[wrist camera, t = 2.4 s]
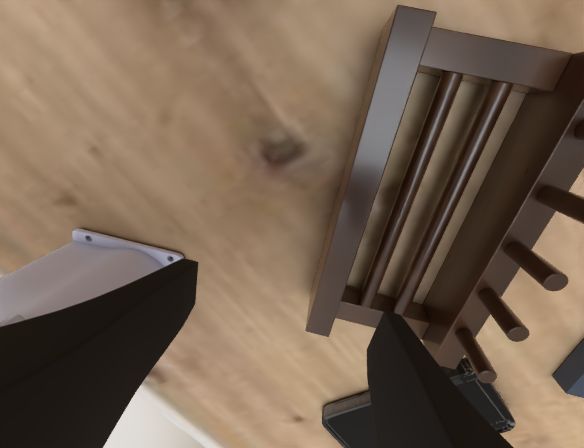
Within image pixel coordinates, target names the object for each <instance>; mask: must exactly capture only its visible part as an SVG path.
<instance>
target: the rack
mask: <svg viewBox="0 0 584 448" xmlns="http://www.w3.org/2000/svg"><path fill="white" fill-rule="evenodd" d="M436 14H437V12H434V11H429V10H424V9H418V8H413V7H408V6H402V5H398V6H397V7H396V9H395V11H394V12H393V14H392V15H391V17H390V19H389V20H388V22H387V23H386V25H385V27H384V28H383V30H382V33H381V37H380V41H379V44H378V48H377V52H376V55H375V59H374V63H373V66H372V70H371V74H370V77H369V81H368V85H367V88H366V92H365V96H364V99H363V103H362V107H361V110H360V114H359V118H358V121H357V125H356V129H355V132H354V136H353V140H352V144H351V147H350V151H349V155H348V158H347V162H346V166H345V169H344V173H343V177H342V180H341V184H340V188H339V191H338V195H337V199H336V202H335V206H334V210H333V213H332V217H331V221H330V224H329V228H328V232H327V235H326V239H325V243H324V246H323V250H322V254H321V257H320V261H319V265H318V268H317V272H316V276H315V279H314V283H313V287H312V290H311V294H310V301H309V309H308V316H307V324H306V331H307V332H311V333H315V334H319V335H323V336H327V337H329V335H330V332H331V329H332V326H333V323H334V320H335V318H338V319H342V320H346V321H350V322H354V323H358V324H362V325H366V326H370V327H374V328H377V326H378V324H379V321H380V319H381V317H382V315H383V312H384V310H385V311H388V312H392V313H396V314H400V315H401V316H402V317H403V318H404V319H405V321H406V322H407V323H408V325H409V326H410V327H411V329H412V330H413V331H414V333H415V334H416V335H417V337H418V338H419V339H422V340H423V343H424V346H425V347H426V349H427V350H428V351H429V353H430V354H431V355H432V357H433V358H434V359H435V361H436V362H437V363H438V364H439V366H443V367H447V368H451V369H456V367H457V365H458V364H459V362H460V361H461V359H462V358H463V356H464V354H465V355H466V357H467V359H468V361H469V363H470V364H471V366H472V368H473V370H474V372H475V374H476V376H477V378H478V379H479V380H480V381H481V382H484V383H491V382H493V381H495V380H496V378H497V374H496V372H495V370H494V369H493V367H492V365H491V364H490V362H489V360H488V359H487V357H486V355H485V354H484V352H483V350H482V349H481V347H480V345H479V344H478V342H477V340H476V339H475V337H476V336H477V334H478V332H479V331H480V329H481V328H482V326H483V325H484V323H485V321H486V320H487V318H488V317H489V315H490V314H491V315H492V317H493V318H494V319H495V321H496V322H497V323H498V325H499V326H500V328H501V329H502V330H503V332H504V333H505V334H506V336H507V337H508V338H509V339H510V340H512V341H515V342H519V341H523V340H525V339H526V338H528V336H529V330H528V329H527V328H526V327H525V325H524V324H523V323H522V322H521V321H520V320H519V318H518V317H517V316H516V315H515V314H514V313H513V311H512V310H511V309H510V308H509V307H508V306H507V304H506V303H505V302H504V301H503V300H502V299H501V296H502V295H503V293H504V292H505V290H506V288H507V287H508V285H509V284H510V282H511V281H512V279H513V278H514V276H515V274H516V273H517V271H518V270H519V268H520V267H521V268H522V269H523V270H525V271H526V272H527V273H528V274H529V275H530V276H531V277H533V278H534V279H535V280H536V281H537V282H538V283H539V284H541V285H542V286H543V287H544V288H545V289H546V290H549V291H558V290H561V289H563V288H564V287H565V286H566V285H567V284H568V278H567V276H566V275H565V274H563V273H562V272H561V271H559V270H558V269H557V268H555V267H554V266H553V265H551V264H550V263H549V262H547V261H546V260H545V259H543V258H542V257H540V256H539V255H538V254H536V253H535V252H534V251H532V250H531V249H532V248H533V246H534V245H535V243H536V241H537V240H538V238H539V237H540V235H541V234H542V232H543V230H544V229H545V227H546V226H547V224H548V223H549V221H550V219H551V218H552V216H553V215H554V213H555V212H556V211H558V212H560V213H562V214H564V215H566V216H568V217H570V218H572V219H574V220H577V221H579V222H581V223H583V224H584V197H582V196H579V195H576V194H574V193H571V192H568V191H569V190H570V188H571V186H572V185H573V183H574V182H575V180H576V179H577V177H578V175H579V174H580V172H581V171H582V169H583V168H584V52H580V53H576V54H572V53H568V52H563V51H557V50H552V49H547V48H542V47H536V46H531V45H526V44H520V43H515V42H510V41H505V40H499V39H494V38H489V37H484V36H478V35H473V34H468V33H462V32H457V31H452V30H447V29H441V28H436V27H432V26H433V23H434V20H435V17H436ZM417 71H418V72H423V73H428V74H433V75H438V76H441V77H440V79H439V82H438V85H437V87H436V90H435V93H434V96H433V98H432V101H431V104H430V107H429V109H428V112H427V115H426V117H425V120H424V123H423V126H422V128H421V131H420V134H419V136H418V139H417V142H416V145H415V147H414V150H413V153H412V156H411V158H410V161H409V164H408V166H407V169H406V172H405V175H404V177H403V180H402V183H401V185H400V188H399V191H398V194H397V196H396V199H395V202H394V205H393V207H392V210H391V213H390V215H389V218H388V221H387V224H386V226H385V229H384V232H383V235H382V237H381V240H380V243H379V245H378V248H377V251H376V254H375V256H374V259H373V262H372V264H371V267H370V270H369V273H368V275H367V278H366V281H365V284H364V286H363V289H362V290H360V289H355V288H351V287H347V286H346V284H347V281H348V278H349V275H350V272H351V269H352V266H353V263H354V260H355V257H356V254H357V251H358V248H359V245H360V242H361V239H362V236H363V233H364V230H365V227H366V224H367V221H368V218H369V215H370V212H371V209H372V206H373V203H374V200H375V197H376V194H377V191H378V188H379V185H380V182H381V179H382V176H383V173H384V170H385V167H386V164H387V161H388V158H389V155H390V152H391V149H392V146H393V143H394V140H395V137H396V134H397V131H398V128H399V125H400V122H401V119H402V116H403V113H404V110H405V107H406V104H407V101H408V98H409V95H410V92H411V89H412V86H413V83H414V80H415V77H416V74H417ZM462 80H463V81H468V82H473V83H478V84H483V85H488V88H487V91H486V93H485V95H484V97H483V100H482V102H481V104H480V107H479V109H478V111H477V113H476V116H475V118H474V120H473V123H472V125H471V127H470V129H469V132H468V134H467V136H466V139H465V141H464V143H463V145H462V148H461V150H460V152H459V155H458V157H457V159H456V161H455V164H454V166H453V168H452V171H451V173H450V175H449V177H448V180H447V182H446V184H445V187H444V189H443V191H442V193H441V196H440V198H439V200H438V203H437V205H436V207H435V209H434V212H433V214H432V216H431V219H430V221H429V223H428V225H427V228H426V230H425V232H424V235H423V237H422V239H421V241H420V244H419V246H418V248H417V251H416V253H415V255H414V257H413V260H412V262H411V264H410V267H409V269H408V271H407V274H406V276H405V278H404V280H403V283H402V285H401V287H400V290H399V292H398V294H397V296H396V298H392V297H388V296H384V295H380V294H377V292H378V290H379V287H380V285H381V282H382V280H383V277H384V274H385V272H386V269H387V267H388V264H389V262H390V259H391V257H392V254H393V252H394V249H395V247H396V244H397V242H398V239H399V237H400V234H401V232H402V229H403V227H404V224H405V222H406V219H407V217H408V214H409V212H410V209H411V207H412V204H413V202H414V199H415V197H416V194H417V192H418V189H419V186H420V184H421V181H422V179H423V176H424V174H425V171H426V169H427V166H428V164H429V161H430V159H431V156H432V154H433V151H434V149H435V146H436V144H437V141H438V139H439V136H440V134H441V131H442V129H443V126H444V124H445V121H446V119H447V116H448V114H449V111H450V109H451V106H452V104H453V101H454V98H455V96H456V93H457V91H458V88H459V86H460V83H461V81H462ZM511 90H513V91H518V92H523V93H528V94H527V96H526V98H525V100H524V102H523V104H522V106H521V108H520V110H519V112H518V114H517V116H516V118H515V120H514V122H513V124H512V126H511V128H510V130H509V132H508V134H507V136H506V138H505V140H504V142H503V144H502V146H501V148H500V150H499V152H498V154H497V156H496V158H495V160H494V162H493V164H492V166H491V168H490V170H489V173H488V175H487V177H486V179H485V181H484V183H483V185H482V187H481V189H480V191H479V193H478V195H477V197H476V199H475V201H474V203H473V205H472V207H471V209H470V211H469V213H468V215H467V217H466V219H465V221H464V223H463V225H462V227H461V229H460V231H459V233H458V235H457V237H456V239H455V241H454V243H453V245H452V247H451V249H450V251H449V253H448V255H447V257H446V259H445V261H444V263H443V265H442V267H441V269H440V271H439V273H438V275H437V277H436V279H435V281H434V284H433V286H432V288H431V290H430V292H429V294H428V296H427V298H426V300H425V302H424V304H423V305H421V304H416V303H412V300H413V298H414V296H415V293H416V291H417V289H418V287H419V285H420V283H421V281H422V279H423V276H424V274H425V272H426V270H427V268H428V266H429V264H430V262H431V259H432V257H433V255H434V253H435V251H436V249H437V247H438V245H439V242H440V240H441V238H442V236H443V234H444V232H445V230H446V228H447V225H448V223H449V221H450V219H451V217H452V215H453V213H454V211H455V208H456V206H457V204H458V202H459V200H460V198H461V196H462V194H463V191H464V189H465V187H466V185H467V183H468V181H469V179H470V177H471V174H472V172H473V170H474V168H475V166H476V164H477V162H478V160H479V157H480V155H481V153H482V151H483V149H484V147H485V145H486V143H487V140H488V138H489V136H490V134H491V132H492V130H493V128H494V126H495V123H496V121H497V119H498V117H499V115H500V113H501V111H502V109H503V106H504V104H505V102H506V100H507V98H508V96H509V94H510V92H511Z"/></svg>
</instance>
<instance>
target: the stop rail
mask: <svg viewBox="0 0 584 448" xmlns="http://www.w3.org/2000/svg"><path fill="white" fill-rule="evenodd" d="M552 376H553V378H554V379H555V380H556V381H557V383H558V384H559V385H560V386H561V388H562V389H563V390H564V391H565V393H567V394H571V395H574V396H578V397H582V398H584V339H583V341H582V342H581V343H580V344H579V345H578V346H577V347H576V349H575V350H574V351H573V352H572V353H571V354H570V356H569V357H568V358H567V359H566V360H565V361H564V363H563V364H562V365H561V366H560V367H559V368H558V369H557V371H556V372H555V373H554V374H553V375H552Z"/></svg>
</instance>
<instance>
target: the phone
mask: <svg viewBox="0 0 584 448" xmlns="http://www.w3.org/2000/svg"><path fill="white" fill-rule="evenodd" d="M441 368H442V369H443V371H444V372H445V373H446V374H447V376H448V377H449V378H450V379H451V381H452V382H453V383H454V384H455V385H456V386H457V388H458V389H459V390H460V391H461V392H462V393H463V395H464V396H465V397H466V398H467V399H468V400H469V402H470V403H471V404H472V405H473V406H474V407H475V408H476V409H477V410H478V412H479V413H480V414H481V415H482V416H483V417H484V418H485V419H486V420H487V421H488V422H489V423H490V424H491V425H492V426H493V427H494V428H495V430H496V431H497V432H498V433H504V432H507V431H510V430H511V429H513V428H514V426H515V420H514V419H513V417H512V415H511V413H510V412H509V410H508V408H507V406H506V405H505V403H504V402H503V400H502V399H501V397H500V396H499V394H498V393H497V391H496V390H495V388H494V387H493V385H492V384H491V383H484V382H481V381H480V380H479V379H478V378H477V376H476V374H475V372H474V370H473V368H472V366H471V364H470V363H469V361H468V360H462V361H460V362H459V364H458V365H457V367H456V369H451V368H447V367H441ZM322 424H323V426H324V427H325V428H326V429H327V430H328V431H329V433H330V434H331V435H332V436H333V437H334V438H335V439H336V440H337V441H338V442H339V443H340V444H341V445H342V446H343V447H344V448H377V441H376V434H375V427H374V420H373V413H372V406H371V400H370V392H369V391H367V392H364V393H361V394H358V395H355V396H352V397H349V398H346V399H343V400H340V401H337V402H335V403H332V404H329V405H326V406H325V407H324V408H323V411H322Z"/></svg>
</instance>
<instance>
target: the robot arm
mask: <svg viewBox="0 0 584 448" xmlns="http://www.w3.org/2000/svg"><path fill="white" fill-rule="evenodd" d="M72 237H73V241H71V242H69V243H68V244H66V245H64V246H62V247H60V248H58V249H56V250H54V251H52V252H50V253H48V254H46V255H44V256H42V257H41V258H39V259H37V260H35V261H33V262H31V263H29V264H27V265H25V266H23V267H21V268H19V269H17V270H15V271H13V272H12V273H10V274H8V275H6V276H4V277H2V278H0V448H103V446H104V445H105V443H106V441H107V439H108V438H109V436H110V434H111V432H112V431H113V429H114V427H115V426H116V424H117V422H118V421H119V419H120V417H121V415H122V414H123V412H124V410H125V409H126V407H127V405H128V404H129V402H130V401H131V399H132V397H133V396H134V394H135V392H136V391H137V389H138V388H139V387H140V385H141V384H142V382H143V381H144V379H145V378H146V376H147V375H148V374H149V372H150V371H151V370H152V368H153V367H154V365H155V364H156V363H157V361H158V360H159V359H160V357H161V356H162V354H163V353H164V352H165V350H166V349H167V348H168V346H169V345H170V343H171V342H172V341H173V339H174V338H175V337H176V335H177V334H178V332H179V331H180V329H181V328H182V327H183V325H184V323H185V321H186V320H187V318H188V316H189V314H190V312H191V310H192V309H193V307H194V305H195V299H196V285H197V272H198V262H196V261H192V260H188V259H184V257H183V255H182V254H180V253H176V252H172V251H168V250H164V249H160V248H156V247H152V246H148V245H144V244H140V243H136V242H132V241H128V240H124V239H120V238H116V237H112V236H108V235H104V234H100V233H96V232H92V231H88V230H84V229H76V230H74V231H73V232H72ZM90 237H91V238H90ZM170 256H171V257H172V258H173V259H171V257H170ZM367 377H368V385H369V392H370V400H371V406H372V413H373V420H374V427H375V434H376V441H377V448H513V447H512V446H511V445H510V444H509V443H508V442H507V441H506V440H505V439H504V438H503V437H502V436H501V435H500V434H499V433H498V432H497V431H496V430H495V428H494V427H493V426H492V425H491V424H490V423H489V422H488V421H487V420H486V419H485V418H484V417H483V416H482V415H481V414H480V413H479V412H478V410H477V409H476V408H475V407H474V406H473V405H472V404H471V403H470V402H469V400H468V399H467V398H466V397H465V396H464V395H463V393H462V392H461V391H460V390H459V389H458V388H457V386H456V385H455V384H454V383H453V382H452V381H451V379H450V378H449V377H448V376H447V374H446V373H445V372H444V371H443V369H442V368H441V367H440V366H439V364H438V363H437V362H436V361H435V359H434V358H433V357H432V355H431V354H430V353H429V351H428V350H427V349H426V347H425V346H424V345H423V343H422V342H421V341H420V339H419V338H418V337H417V335H416V334H415V333H414V331H413V330H412V329H411V327H410V326H409V325H408V323H407V322H406V321H405V319H404V318H403V317H402V316H401V315H400V314H396V313H392V312H388V311H385V310H384V312H383V315H382V317H381V319H380V321H379V324H378V326H377V328H376V330H375V333H374V335H373V337H372V339H371V342H370V344H369V346H368V348H367Z"/></svg>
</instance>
